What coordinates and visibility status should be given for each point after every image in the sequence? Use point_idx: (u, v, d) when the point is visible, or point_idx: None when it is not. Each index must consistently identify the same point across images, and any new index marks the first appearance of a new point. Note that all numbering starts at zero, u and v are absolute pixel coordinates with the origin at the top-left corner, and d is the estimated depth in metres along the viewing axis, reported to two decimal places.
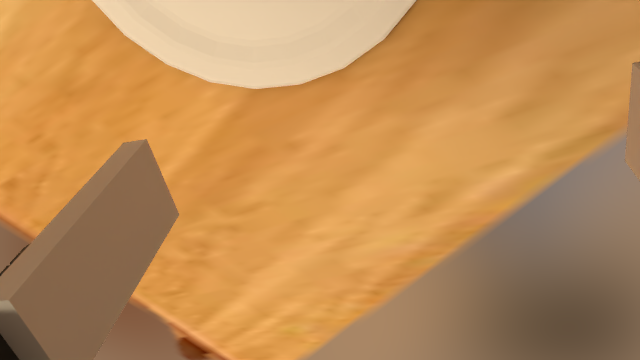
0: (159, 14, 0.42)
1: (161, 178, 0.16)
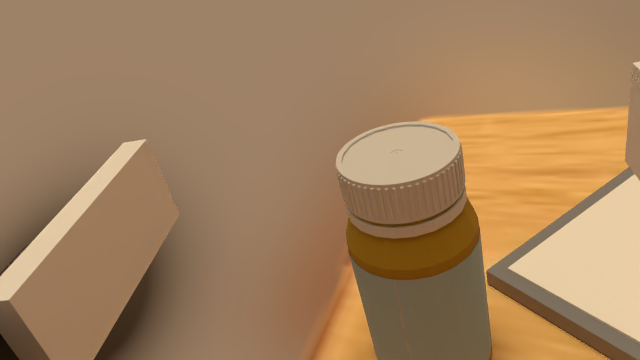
0: None
1: (161, 178, 0.16)
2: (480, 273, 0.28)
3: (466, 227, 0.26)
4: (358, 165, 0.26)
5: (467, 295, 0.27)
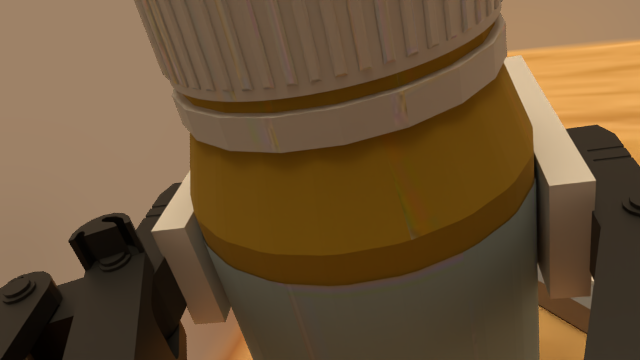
0: None
1: None
2: (534, 270, 0.10)
3: (506, 132, 0.09)
4: None
5: (503, 330, 0.10)
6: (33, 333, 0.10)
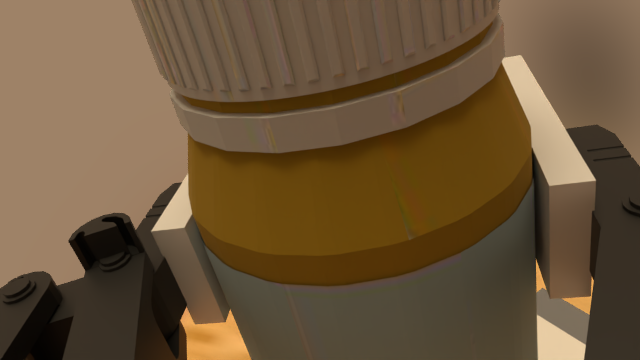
0: None
1: None
2: (532, 271, 0.10)
3: (504, 132, 0.09)
4: None
5: (501, 330, 0.10)
6: (33, 333, 0.10)
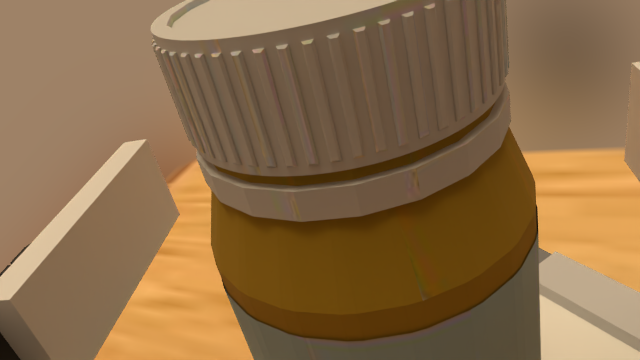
0: None
1: (162, 178, 0.16)
2: (537, 316, 0.11)
3: (510, 195, 0.09)
4: (210, 19, 0.09)
5: None
6: None
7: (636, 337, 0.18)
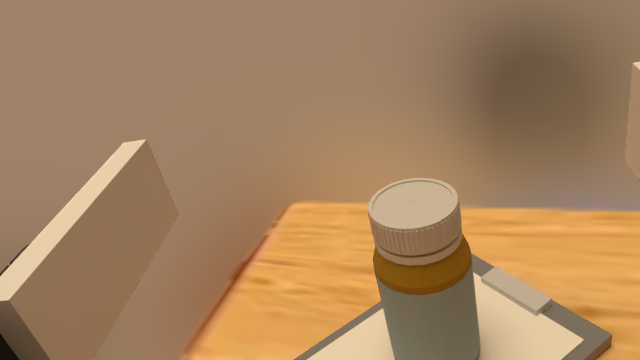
0: None
1: (161, 178, 0.16)
2: (471, 290, 0.38)
3: (461, 257, 0.36)
4: (384, 212, 0.36)
5: (462, 306, 0.37)
6: None
7: (522, 302, 0.45)
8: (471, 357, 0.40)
